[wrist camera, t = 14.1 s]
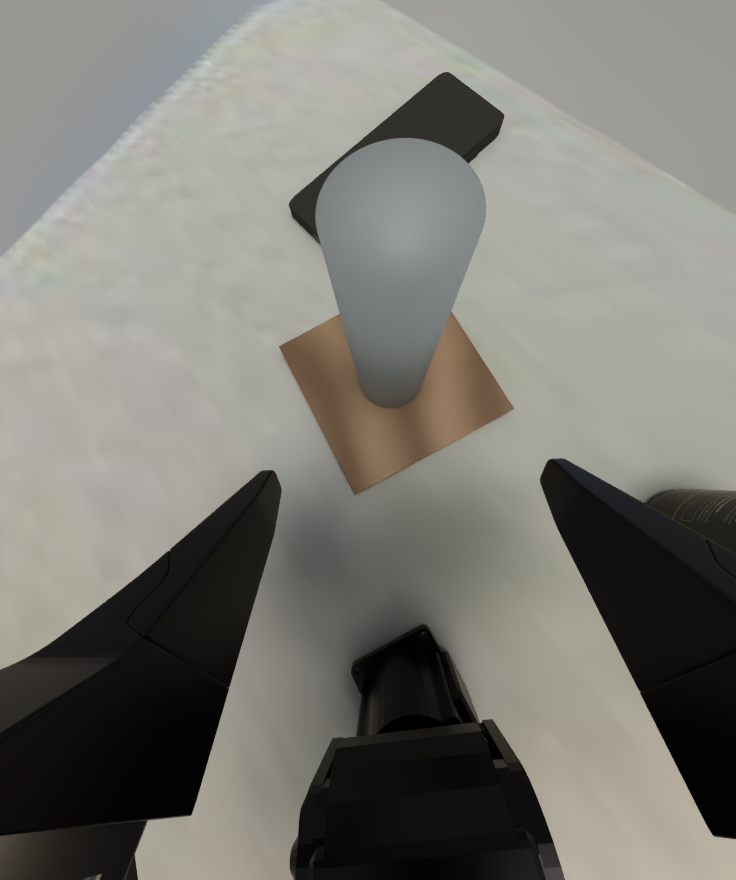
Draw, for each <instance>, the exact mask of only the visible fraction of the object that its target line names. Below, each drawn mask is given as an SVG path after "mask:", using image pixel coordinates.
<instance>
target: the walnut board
mask: <svg viewBox="0 0 736 880" xmlns="http://www.w3.org/2000/svg"><path fill="white" fill-rule="evenodd" d="M279 347H280V349H281V351H282V353H283V355H284V357H285V359H286V361H287V363H288V365H289V367H290V369H291V371H292V373H293V375H294V376H295V378H296V380H297V382H298V384H299V386H300V388H301V390H302V392H303V394H304V396H305V398H306V400H307V402H308V404H309V406H310V408H311V409H312V411H313V413H314V415H315V417H316V419H317V421H318V423H319V425H320V427H321V429H322V431H323V433H324V435H325V437H326V439H327V441H328V443H329V444H330V446H331V448H332V450H333V452H334V454H335V456H336V458H337V460H338V462H339V464H340V466H341V468H342V470H343V472H344V474H345V476H346V477H347V479H348V481H349V483H350V485H351V487H352V489H353V491H354V493H355V494H357V493H359V492H361V491H363V490H365V489H367V488H368V487H370V486H372V485H374V484H376V483H378V482H380V481H381V480H383V479H385V478H387V477H389V476H391V475H392V474H394V473H396V472H398V471H400V470H402V469H404V468H405V467H407V466H409V465H411V464H413V463H415V462H417V461H418V460H420V459H422V458H424V457H426V456H428V455H429V454H431V453H433V452H435V451H437V450H439V449H441V448H442V447H444V446H446V445H448V444H450V443H452V442H454V441H455V440H457V439H459V438H461V437H463V436H465V435H466V434H468V433H470V432H472V431H474V430H476V429H478V428H479V427H481V426H483V425H485V424H487V423H489V422H491V421H492V420H494V419H496V418H498V417H500V416H502V415H503V414H505V413H507V412H509V411H511V410H513V409H514V408H513V406H512V405H511V403H510V401H509V400H508V398H507V397H506V395H505V394H504V392H503V391H502V389H501V388H500V386H499V384H498V383H497V381H496V380H495V378H494V377H493V375H492V374H491V372H490V371H489V369H488V367H487V366H486V364H485V363H484V361H483V360H482V358H481V357H480V355H479V354H478V352H477V350H476V349H475V347H474V346H473V344H472V343H471V341H470V340H469V338H468V337H467V335H466V333H465V332H464V330H463V329H462V327H461V326H460V324H459V323H458V321H457V320H456V318H455V316H454V315H453V313H452V312H450V315H449V317H448V320H447V322H446V325H445V328H444V330H443V333H442V335H441V338H440V341H439V343H438V346H437V348H436V351H435V353H434V356H433V359H432V361H431V364H430V366H429V369H428V371H427V374H426V377H425V379H424V382H423V384H422V387H421V390H420V391H419V393H418V395H417V396H416V397H415V398H414V399H413V400H412V401H411V402H409V403H408V404H406V405H404V406H401V407H398V408H384V407H380V406H377V405H375V404H374V403H372V402H371V401H370V400H368V399H367V398H366V396H365V395H364V394H363V392H362V390H361V387H360V384H359V380H358V377H357V373H356V369H355V366H354V362H353V359H352V355H351V351H350V348H349V344H348V341H347V337H346V333H345V330H344V326H343V323H342V319H341V315H340V314H339V315H337V316H335V317H333V318H331V319H330V320H328V321H326V322H324V323H322V324H320V325H318V326H316V327H315V328H313V329H311V330H309V331H307V332H305V333H303V334H302V335H300V336H298V337H296V338H294V339H292V340H290V341H289V342H287V343H285V344H283V345H281V346H279Z"/></svg>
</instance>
